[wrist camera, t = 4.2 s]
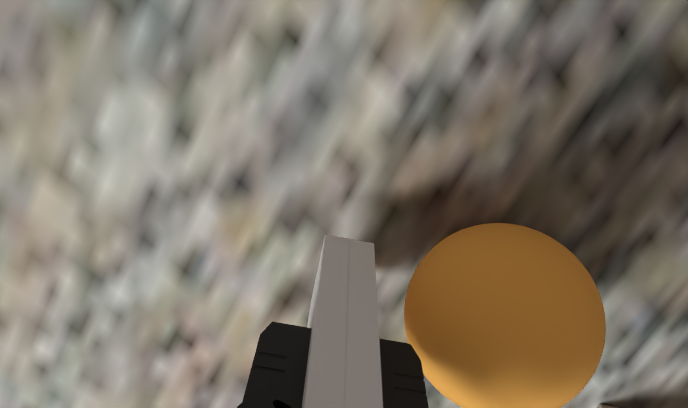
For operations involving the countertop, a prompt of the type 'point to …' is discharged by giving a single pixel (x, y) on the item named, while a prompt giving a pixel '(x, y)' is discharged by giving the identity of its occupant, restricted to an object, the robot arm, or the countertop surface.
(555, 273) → the ball
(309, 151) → the countertop surface
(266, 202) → the countertop surface
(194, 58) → the countertop surface
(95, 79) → the countertop surface
